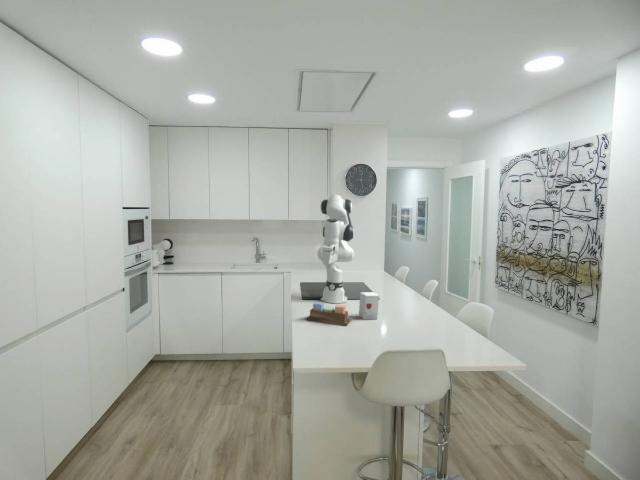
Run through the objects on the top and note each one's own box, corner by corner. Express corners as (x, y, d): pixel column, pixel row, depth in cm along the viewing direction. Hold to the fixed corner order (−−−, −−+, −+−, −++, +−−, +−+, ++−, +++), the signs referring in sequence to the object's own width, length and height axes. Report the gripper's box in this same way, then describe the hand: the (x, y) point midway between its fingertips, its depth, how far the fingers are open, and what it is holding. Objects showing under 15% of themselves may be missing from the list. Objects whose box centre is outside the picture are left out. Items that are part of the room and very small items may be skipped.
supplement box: (363, 320, 236) (365, 295, 234) (358, 315, 244) (359, 291, 243) (377, 319, 238) (379, 295, 237) (372, 315, 247) (373, 291, 246)
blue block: (315, 310, 235) (315, 301, 235) (323, 311, 234) (323, 302, 233) (312, 312, 230) (313, 303, 230) (321, 313, 229) (321, 304, 228)
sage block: (325, 315, 233) (326, 307, 233) (334, 316, 232) (334, 308, 231) (323, 317, 229) (323, 309, 228) (331, 318, 227) (332, 310, 227)
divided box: (311, 316, 239) (312, 306, 238) (350, 321, 232) (351, 311, 231) (306, 320, 229) (306, 310, 229) (346, 326, 222) (347, 315, 222)
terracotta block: (336, 312, 231) (337, 304, 231) (345, 314, 230) (345, 305, 229) (334, 315, 226) (335, 306, 226) (343, 316, 225) (343, 307, 225)
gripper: (330, 244, 242) (329, 267, 244) (321, 247, 223) (319, 272, 224) (340, 245, 240) (339, 268, 242) (331, 248, 221) (330, 273, 222)
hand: (330, 270), depth 233 cm, fingers closed
